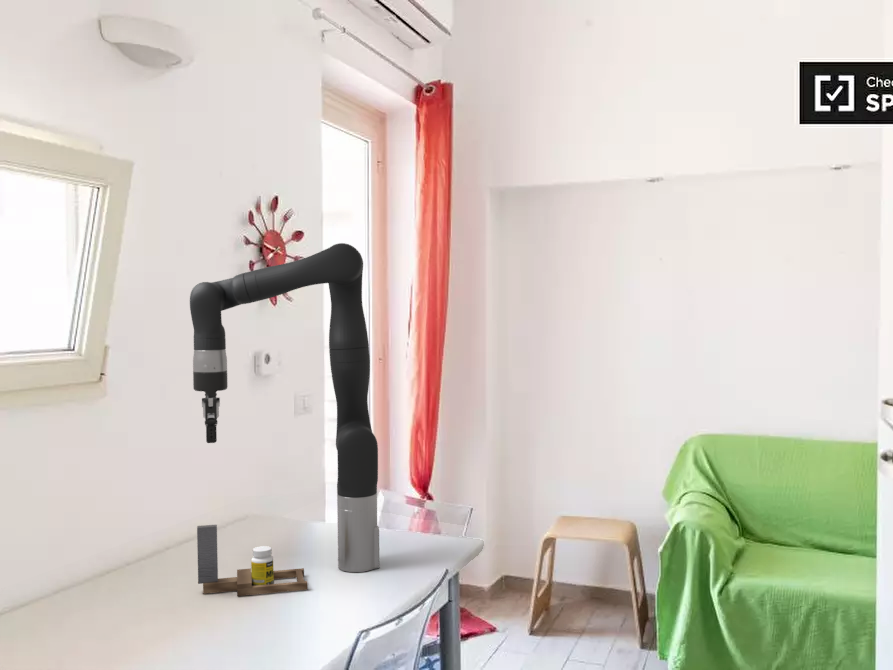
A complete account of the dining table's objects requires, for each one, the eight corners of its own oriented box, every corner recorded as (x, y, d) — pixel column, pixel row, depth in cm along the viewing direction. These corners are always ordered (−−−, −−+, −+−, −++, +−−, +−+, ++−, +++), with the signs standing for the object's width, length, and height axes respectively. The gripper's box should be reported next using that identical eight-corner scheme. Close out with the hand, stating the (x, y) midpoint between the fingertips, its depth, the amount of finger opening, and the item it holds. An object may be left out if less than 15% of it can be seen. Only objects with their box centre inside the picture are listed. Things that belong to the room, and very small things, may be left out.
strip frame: (303, 574, 184) (302, 513, 183) (307, 589, 174) (306, 524, 173) (199, 584, 178) (198, 520, 177) (197, 600, 168) (196, 533, 168)
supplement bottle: (269, 591, 174) (268, 552, 174) (248, 590, 175) (247, 551, 174) (276, 583, 179) (276, 545, 178) (256, 582, 179) (255, 544, 179)
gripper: (227, 371, 180) (229, 443, 181) (226, 366, 194) (227, 434, 194) (192, 372, 178) (193, 445, 179) (193, 367, 192) (195, 436, 192)
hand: (211, 439), depth 186 cm, fingers open, 8 cm apart
